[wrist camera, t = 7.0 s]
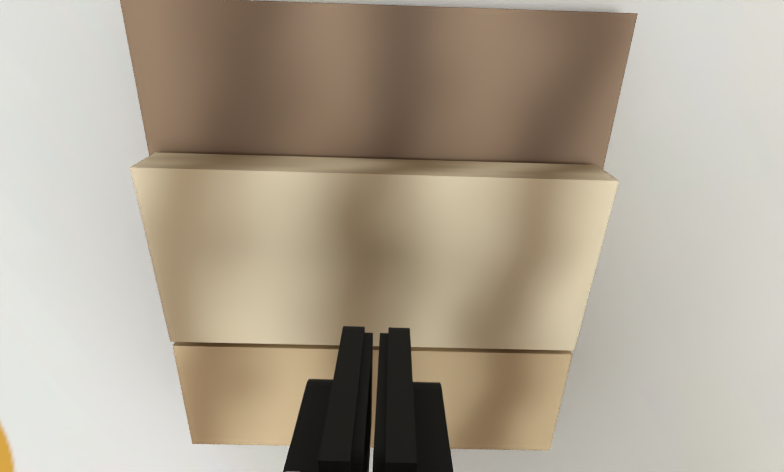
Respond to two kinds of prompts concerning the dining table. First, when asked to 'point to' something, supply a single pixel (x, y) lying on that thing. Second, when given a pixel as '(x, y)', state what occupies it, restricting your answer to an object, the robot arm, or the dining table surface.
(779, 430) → the dining table surface
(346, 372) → the robot arm
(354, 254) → the hinged plank
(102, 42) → the dining table surface
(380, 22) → the floor board
